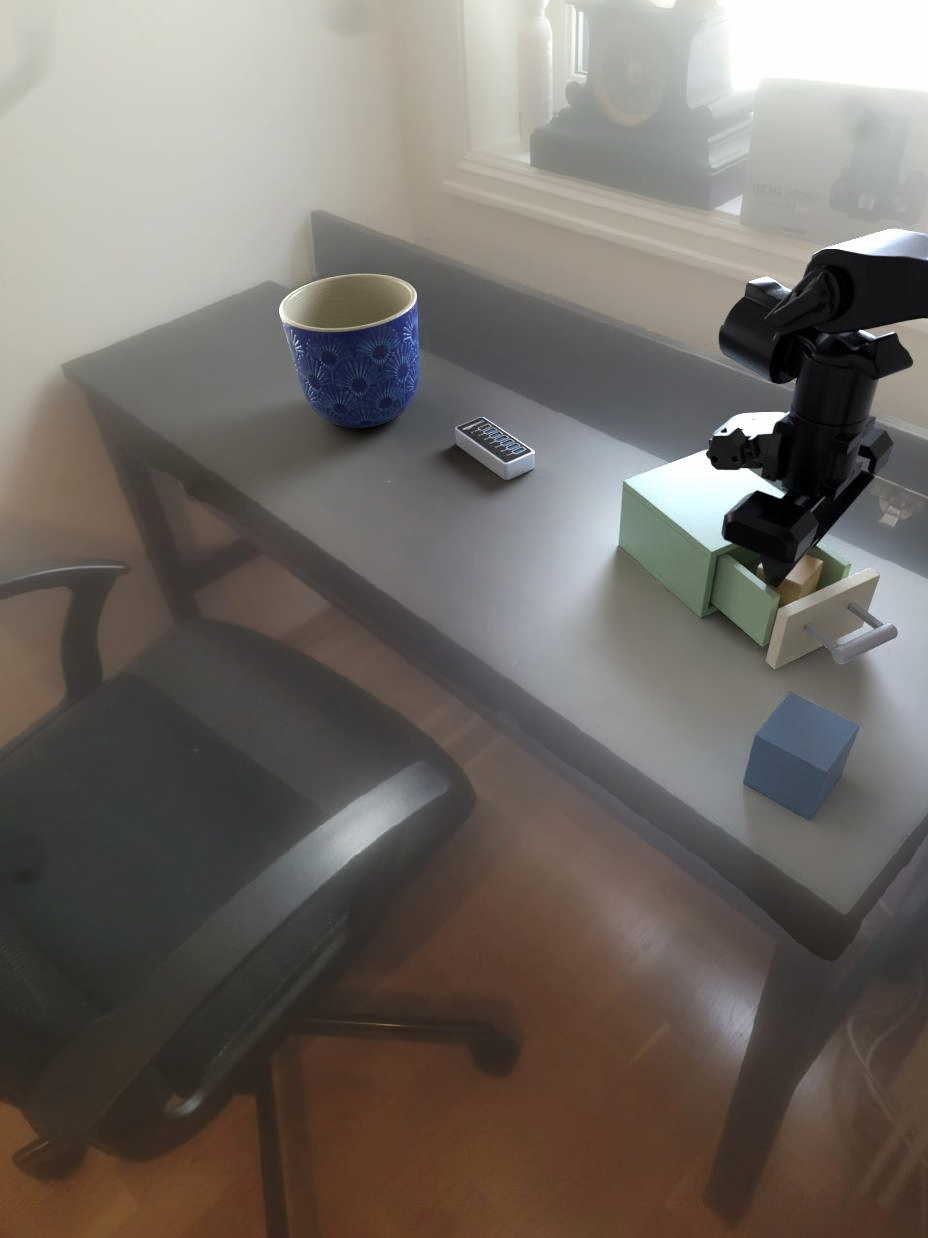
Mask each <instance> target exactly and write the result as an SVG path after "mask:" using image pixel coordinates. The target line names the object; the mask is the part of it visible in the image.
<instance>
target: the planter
mask: <svg viewBox="0 0 928 1238" xmlns="http://www.w3.org/2000/svg"><path fill="white" fill-rule="evenodd" d="M418 310H419V309H418V293H417V291H416V289H415V288H414V286H412V285H411V284H410V283H409V282H407V281H405V280H403V279H400V278H398V277H395V276H391V275H385V274H384V275H383V274H377V273H351V274H344V275H343V274H342V275H336V276H331V277H327V278H323V279H318V280H315V281H313V282H310V283H308V284H305V285H303V286H300V287H299V288H297V289H295V290H294V291H292V292H290V293H289V294H288V295H287V296H286V297H285V298H284V299H283V300H282V302H281V303H280V305H279V312H278V313H279V316H280V320H281V323H282V324H281V325H282V326H283V331H284V334H285V337H286V341H287V344H288V348H289V351H290V354H291V358H292V361H293V364H294V369H295V371H296V375H297V378H298V382H299V385H300V388H301V391H302V393H303V395H304V397H305V399H306V400H307V402H308V404H309V405H310V407H311V408H312V409H313V410H314V412H315V413H316V414H317V415H318V416H320V417H321V418H323V419H324V420H326V421H327V422H329V423H331V424H333V425H336V426H339V427H344V428H350V429H366V428H372V427H373V428H374V427H377V426H380V425H384V424H386V423H389V422H390V421H392V420H394V419H395V418H398V417H399V416H400V415H402V413H404V411H405V410H406V409H407V408H408V407H409V406H410V405H411V403H412V401H413V400H414V398H415V395H416V393H417V389H418V385H419V379H420V347H419V345H420V344H419V318H418V317H419V312H418Z"/></svg>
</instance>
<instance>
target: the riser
mask: <svg viewBox="0 0 928 1238" xmlns="http://www.w3.org/2000/svg"><path fill="white" fill-rule="evenodd" d="M860 728H861V725H860V724H858V723H856V722H854V721H852V720H850V719H848V718H846V717H844V716H842V715H840V714H838V713H836V712H834V711H831V710H830V709H827V708H825V707H824V706H821V705H819V704H818V703H815V702H813V701H811V700H809V699H807V698H805V697H803V696H801V695H799V694H797V693H795V692H792V691H789V692H788V693H786V696H785V697H784V698H783V699H782V701H780V703H778V705H777V706H776V708H775V709H774V710H773V711H772V713H771V714H770V715H769V716H768V718H767V719H766V720H765V721H764V723H763V724H762V725H761V726H760V728H759V729H758V730H757V731H756V733H755V734H754V738H753V740H752V745H751V749H750V753H749V758H748V759H747V760H748V761H747V763H746V764H747V765H746V768H745V772H744V776H743V780H742V783H743V784H745V785H746V786H748V787H750V788H752V789H753V790H755V791H757V792H759V793H761V794H762V795H763V796H766V797H768V798H769V799H771V800H773V801H775V802H776V803H778V804H780V805H782V806H783V807H785V808H787V809H789V810H791V811H792V812H794V813H796V814H798V815H799V816H801V817H803V818H804V819H807V820H808V821H810V820H811V819H812V818H813V816H814V815H815V814H816V812H817V811H818V809H819V808H820V807H821V805H822V804H823V802H824V800H825V799H826V798H827V797H828V795H829V794H830V792H831V790H832V789H833V788H834V786H835V785H836V783H837V782H838V780H839V779H840V778H841V776H842V775H843V772H844V769H845V767H846V765H847V761H848V759H849V756H850V754H851V751H852V748H853V747H854V743H855V741H856V738H857V735H858V733H859V730H860Z"/></svg>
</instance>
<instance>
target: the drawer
mask: <svg viewBox="0 0 928 1238" xmlns="http://www.w3.org/2000/svg"><path fill="white" fill-rule="evenodd" d="M806 555H809V556H811V557H814V558H816V559H819V560H821V561H823V565H822V569H821V572H820V576H819V579H818V583H817V586H816V590H815V593H813V594H810V595H808V596H806V597H804V598H802V599H799V600H797V601H795V602H793V603H791V604H788V605H786V606H784V607H782V608H779V609H778V613H777V617H776V620H774V619H775V615H776V611H777V607H778V603H779V599H780V595H779V594H777V593H776V592H775V591H774V590H772V589H771V588H770V587H769V586H767V585H766V584H765V583H764V582H762V581H761V580H760V579H759V578H757V577H756V573H757V568H758V566H759V565H760V564H761V563H762V562H761V557H760V554H758V553H755V552H753V551H750V550H748V549H746V548H743V547H741V546H740V547H738V548H735V549H733V550H730V551H728V552H726V553H723V554H721V555H718V556H717V559H716V565H715V571H714V577H713V582H712V588H711V594H710V600H709V601H710V602H711V603H712V604H713V605H715V606H716V607H717V608H718V609H719V610H718V611H720V612H721V613H723V615H725V616H726V617H727V618H728V619H729V620H730V621H732V622H733V623H734V624H735V625H736V626H737V627H739V628H740V629H741V630H742V631H743V632H744V633H745V634H747V635H748V636H749V637H750V638H751V639H752V640H754V641H755V642H756V643H757V644H758V645H759V646H760V647H764V646H767V645H768V649H767V654H766V657H765V662H766V663H767V664H768V665H769V666H771V667H772V668H773V669H774V670H777V669H778V668H781V667H783V666H784V665H786V664H789V663H791V662H793V661H794V660H795V661H796V660H797V659H799V658H801V657H803V656H806V655H808V654H809V653H811V652H814V651H816V650H818V649H820V648H822V647H825V648H826V649H827V650H829V651H830V652H831V657H832V660H834V661H835V663H837V664H840V665H843V664H845V663H848V662H850V661H851V660H853V659H855V658H857V657H860V656H861V655H864V654H866V653H868V652H870V651H871V650H873V649H876V648H878V647H880V646H882V645H883V644H886V643H888V642H890V641H892V640H894V639H896V638H897V637H898V634H899V632H898V628H897V627H896V626H895V624H894V623H891V622H887V623H883V622H882V621H881V620H879V619H878V618H877V617H875V616H874V615H872V613H869V609H870V607H871V604H872V600H873V597H874V595H875V591H876V590H877V589H876V588H877V587H878V583H879V580H880V577H881V574H880V573H879V572H877V571H876V570H874V569H873V568H872V567H868V568H865V569H863V570H861V571H859V572H856V573H854V574H852V575H850V576H849V574H850V570H851V568H852V563H851V562H850V561H848V560H847V559H846V558H844V557H843V556H842V555H840V554H839V553H837V552H836V551H834V550H833V549H832V548H830V547H829V546H827V545H825V544H824V543H823V542H822V541H820V542H819V543H818V544H817V545H816V546H815V547H811V548H810V550H809V551H808V552H807V553H806ZM865 623H866V624H867V625H868V626H870V627H871V628H872V630H870V631H867V632H866V633H863V634H861V635H859V636H857V637H855V638H853V639H851V640H849V641H847V642H844V643H843V644H840V645H839V644H838V643H837V642H836V640H838V639H841V638H843V637H845V636H846V635H849V634H851V633H854V632H855V631H857V630H859V629H861V628H863V627H864V624H865Z"/></svg>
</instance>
